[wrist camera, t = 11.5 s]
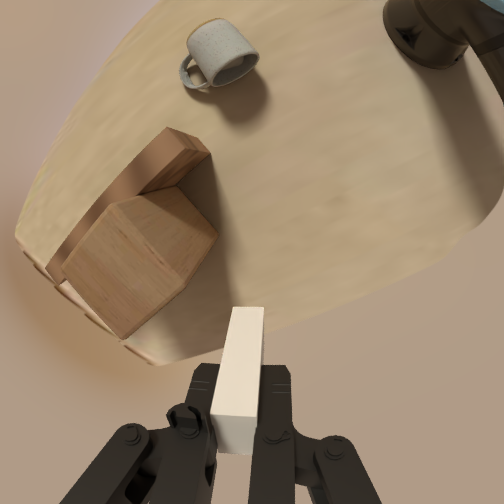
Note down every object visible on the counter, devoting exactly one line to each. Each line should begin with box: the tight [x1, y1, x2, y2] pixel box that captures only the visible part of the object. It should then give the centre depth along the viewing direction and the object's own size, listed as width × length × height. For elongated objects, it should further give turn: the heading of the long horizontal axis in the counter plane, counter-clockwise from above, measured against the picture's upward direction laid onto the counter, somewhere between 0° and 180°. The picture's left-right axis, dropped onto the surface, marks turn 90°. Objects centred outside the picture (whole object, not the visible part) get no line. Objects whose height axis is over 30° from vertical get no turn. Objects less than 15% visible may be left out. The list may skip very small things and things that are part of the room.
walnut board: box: [45, 127, 210, 286], centre depth 37 cm, size 24×3×14 cm, turn 130°
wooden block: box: [60, 186, 219, 340], centre depth 35 cm, size 10×10×20 cm
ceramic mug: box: [179, 18, 259, 89], centre depth 34 cm, size 11×8×8 cm
